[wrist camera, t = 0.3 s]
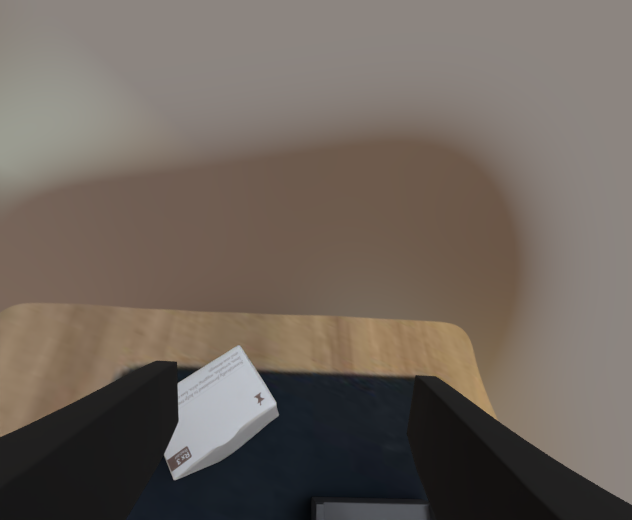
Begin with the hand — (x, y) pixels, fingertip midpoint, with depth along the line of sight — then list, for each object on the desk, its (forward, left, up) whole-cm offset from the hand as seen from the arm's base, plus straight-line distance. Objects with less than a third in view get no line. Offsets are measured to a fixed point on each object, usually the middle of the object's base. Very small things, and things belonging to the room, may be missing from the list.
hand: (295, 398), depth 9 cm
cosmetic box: (+2, +6, -30) cm, 31 cm away
